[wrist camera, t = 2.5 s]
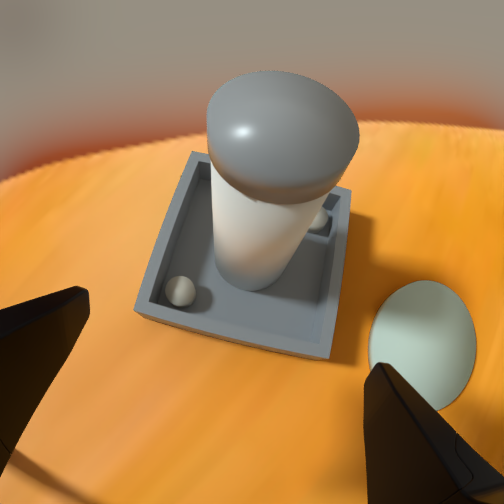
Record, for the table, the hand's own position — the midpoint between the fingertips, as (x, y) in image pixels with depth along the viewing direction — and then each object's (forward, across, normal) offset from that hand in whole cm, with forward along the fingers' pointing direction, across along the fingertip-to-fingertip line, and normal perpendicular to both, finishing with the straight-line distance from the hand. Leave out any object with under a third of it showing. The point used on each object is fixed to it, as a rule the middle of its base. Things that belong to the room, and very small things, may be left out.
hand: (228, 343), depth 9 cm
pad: (+12, -16, +7) cm, 21 cm away
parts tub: (+15, 0, +4) cm, 15 cm away
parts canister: (+14, 0, +4) cm, 15 cm away
